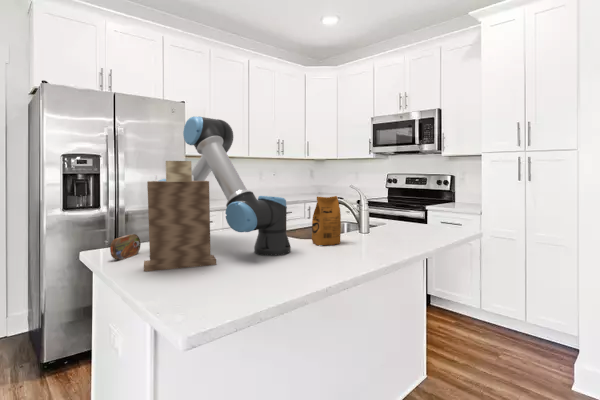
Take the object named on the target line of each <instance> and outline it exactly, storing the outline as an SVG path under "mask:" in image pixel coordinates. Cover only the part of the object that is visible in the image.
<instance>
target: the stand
mask: <svg viewBox="0 0 600 400" xmlns="http://www.w3.org/2000/svg"><path fill="white" fill-rule="evenodd" d="M147 185H148V189H147V206H148V207H147V211H148V240H149V245H148V246H149V259H148V260H144V261H143V272H152V271H164V270H173V269H174V270H175V269H186V268H195V267H206V266H207V267H208V266H216V265H217V258H216V256H215V255H214V254H212V253H211V215H210V214H211V213H210V211H211V210H210V209H211V208H210V207H211V205H210V204H211V203H210V202H211V201H210V181H209V180H205V181H192V182H166V181H159V180H157V181H155V180H151V181H149V180H148V181H147V183H146V186H147Z"/></svg>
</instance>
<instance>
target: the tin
mask: <svg viewBox="0 0 600 400" xmlns="http://www.w3.org/2000/svg"><path fill="white" fill-rule="evenodd" d="M140 250H141V239H140V236H138V235H137V234H135V233H133V234H127V235H123V236H120V237H117V238H114V239H113V240H112V241H111V243H110V246H109V251H110V255H111V257H112V258H113V259H114V260H118V261H119V260H120V261H121V260H122V261H123V260H125V259H129V258H130V257H134V256H135V255H138V253H139V252H140Z"/></svg>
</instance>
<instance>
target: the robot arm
mask: <svg viewBox="0 0 600 400" xmlns="http://www.w3.org/2000/svg"><path fill="white" fill-rule="evenodd" d="M182 133H183V134H182V135H183V140H184V142H185V143H186V145H189V146H193V147H194V148H195V150H196V152H197V153H198V154H199V155H201V156H200V158H199V159H198V161H197V162H196V164H195V165H194V167H193V168H192V181H206V179H207V178H208V176H209V175H210V173H211V172H212V174H213V177H214V178H215V180H216V181H217V183H218V185H219V187H220V189H221V191H222V193H223V195H224V197H225V199H226V205H225V207H226V209H225V215H226V216H225V220H226V222H227V224H228V226H229V227H230V228H231V229H232V230H233V231H235V232H236V233H237V232H238V233H250V232H253V231H257V236H256V239H255V243H254V246H253V248H254V250H253V251H254V252H253V253H254V254H256V255H259V256H271V257H272V256H282V255H287V254H290V253H291V251H292V250H291V249H292V247H291V242H290V240H289V237H288V234H287V211H288V209H287V208H288V205H287V200H286V198H284V197H282V196H281V197H279V196H268V195H259V196H258V198H257V196H256V195H255V194H254V192H253V191H251V190H248V189H247V188H246V185H245V184H244V182H243V180H242V178H241V177H240V175H239V173H238V171H237V169H236V167H235V166H234V164H233V163H232V160H231V159H230V157H229V155H228V154H227V153H228V152H229V150H230V149H231V147H232V145H233V142H234V132H233V128H232V127H231V125H230V124H229V123H228V122H227V121H225V120H222V119H219V118H218V119H216V118H209V117H204V116H191V117H190V118H188V119H187V120H186V121H185V124H184V127H183V132H182ZM154 181H166V178H161V179H159V180H158V175H154ZM146 186H147V188H146V190H148V185H147V184H146Z"/></svg>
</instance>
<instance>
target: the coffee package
mask: <svg viewBox="0 0 600 400" xmlns="http://www.w3.org/2000/svg"><path fill="white" fill-rule="evenodd" d="M339 203H340V202H339V198H338V196H337V195H334V196H329V197H328V196H316V205H315V209H314V211H313V214H312V220H311V242H312V244H314V245H315V246H318V245H324V246H335V244H336V245H340V244H341V235H342V234H341V229H342V228H341V226H342V222H341V220H342V218H341V216H342V214H341V208H340V204H339Z"/></svg>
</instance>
